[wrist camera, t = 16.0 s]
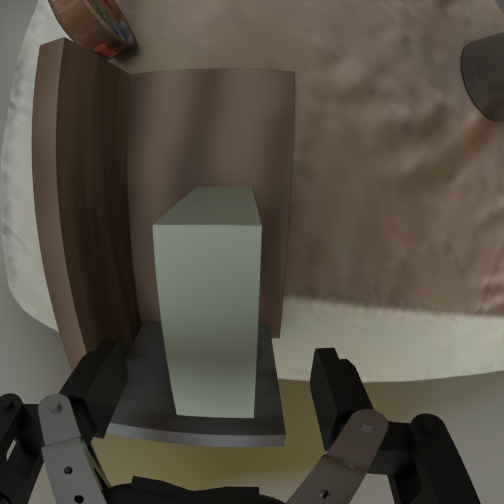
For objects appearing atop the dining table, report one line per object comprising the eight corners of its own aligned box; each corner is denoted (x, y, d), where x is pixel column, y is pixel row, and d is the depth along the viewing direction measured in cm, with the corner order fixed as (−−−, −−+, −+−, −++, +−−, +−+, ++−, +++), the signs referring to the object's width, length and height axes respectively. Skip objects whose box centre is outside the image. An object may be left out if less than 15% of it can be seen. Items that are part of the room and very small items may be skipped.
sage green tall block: (251, 186, 22) (261, 225, 11) (248, 308, 26) (253, 417, 14) (197, 186, 22) (152, 224, 11) (200, 307, 26) (176, 414, 14)
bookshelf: (290, 77, 22) (344, 4, 8) (277, 326, 29) (300, 446, 15) (120, 81, 21) (18, 36, 8) (132, 320, 28) (77, 427, 15)
